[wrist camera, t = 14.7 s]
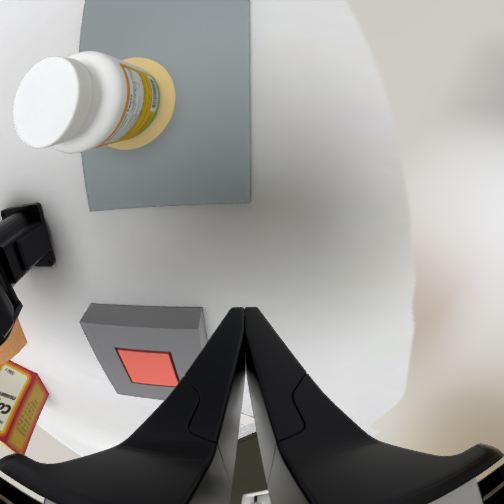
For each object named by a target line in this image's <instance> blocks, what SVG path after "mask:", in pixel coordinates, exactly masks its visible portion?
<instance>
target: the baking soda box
mask: <svg viewBox="0 0 504 504" xmlns="http://www.w3.org/2000/svg"><path fill="white" fill-rule="evenodd" d="M48 395H49V393H48V391H47V390H46V388H45V386H44V385H43V383H42V381H41V379H40V378H39V376H38V374H37V373H34V372H32V371H30V370H28V369H26V368H24V367H22V366H20V365H18V364H16V363H14V362H12V361H10V360H8V361H7V362H5V363H3V364H1V365H0V444H1V445H2V446H4V447H5V448H6V449H8V450H10V451H11V452H13V453H20V454H23V455H25V452H26V449H27V446H28V443H29V441H30V438H31V435H32V433H33V430H34V428H35V425H36V423H37V421H38V418H39V416H40V413H41V411H42V409H43V407H44V404H45V402H46V400H47V398H48Z"/></svg>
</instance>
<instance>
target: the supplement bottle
mask: <svg viewBox="0 0 504 504" xmlns="http://www.w3.org/2000/svg"><path fill="white" fill-rule="evenodd" d="M160 105H161V90H160V87H159V84H158V82H157V81H156V79H155V78H154V77H153V76H152V75H151V74H150V73H149V72H147V71H146V70H144V69H142V68H140V67H137V66H135V65H132V64H130V63H127V62H125V61H122V60H120V59H117V58H115V57H112V56H110V55H107V54H104V53H100V52H96V51H85V52H80V53H76V54H73V55H71V56H69V57H67V58H65V57H59V56H53V57H49V58H45V59H43V60H41V61H40V62H38V63H37V64H35V65H34V66H33V67H32V68H31V69H30V70H29V71H28V73H27V74H26V75H25V77H24V78H23V80H22V81H21V83H20V85H19V88H18V90H17V93H16V96H15V100H14V107H13V119H14V125H15V128H16V131H17V133H18V135H19V137H20V138H21V140H22V141H23V142H24V143H25V144H27V145H29V146H30V147H33V148H46V147H49V146H52V147H53V148H54V149H56V150H58V151H61V152H64V153H80V152H85V151H88V150H91V149H95V148H98V147H102V146H105V145H109V144H113V143H116V142H120V141H124V140H128V139H131V138H134V137H136V136H138V135H140V134H142V133H143V132H144V131H145V130H147V129H148V128H149V127H150V126H151V124H152V123H153V122H154V120H155V119H156V117H157V115H158V113H159V110H160Z"/></svg>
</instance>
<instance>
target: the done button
mask: <svg viewBox="0 0 504 504" xmlns="http://www.w3.org/2000/svg"><path fill="white" fill-rule="evenodd" d="M118 352H119V354H120V356H121V359H122V361H123V363H124V365H125V367H126V369H127V371H128V373H129V375H130V377H131V379H132V381H133V382H136V383H145V384H154V385H165V386H177V384H178V383H179V381H180V380H179V377H178V374H177V370H176V367H175V364H174V361H173V358H172V354H171V352H165V351H150V350H138V349H127V348H118Z"/></svg>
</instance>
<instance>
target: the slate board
mask: <svg viewBox="0 0 504 504" xmlns="http://www.w3.org/2000/svg"><path fill="white" fill-rule="evenodd" d="M85 51H96V52H100V53H104V54H107V55H110V56H112V57H115V58H117V59H120V60H122V61H125V62H127V63H130V64H132V65H135V66H137V67H140V68H142V69H144V70H146V71H147V72H149V73H150V74H151V75H152V76H153V77H154V78H155V79H156V81H157V82H158V84H159V87H160V90H161V105H160V110H159V113H158V115H157V117H156V119H155V120H154V122H153V123H152V124H151V126H150V127H149V128H148V129H147V130H145V131H144V132H143V133H142V134H140V135H138V136H136V137H134V138H131V139H128V140H124V141H120V142H116V143H113V144H109V145H105V146H102V147H98V148H95V149H91V150H88V151H85V152H81V156H82V164H83V172H84V179H85V186H86V192H87V198H88V203H89V209H90V212H91V211H102V210H113V209H126V208H140V207H155V206H173V205H194V204H224V203H250V20H249V0H85V5H84V11H83V18H82V25H81V34H80V45H79V53H80V52H85Z"/></svg>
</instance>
